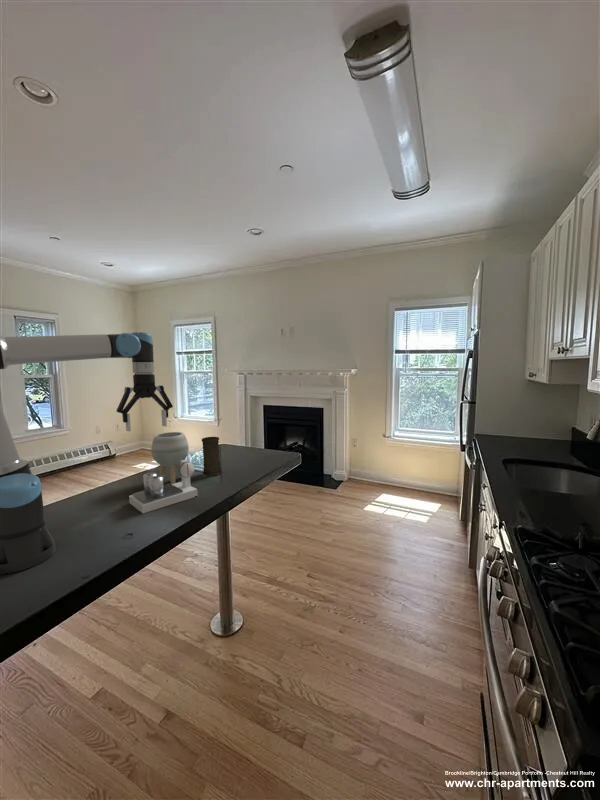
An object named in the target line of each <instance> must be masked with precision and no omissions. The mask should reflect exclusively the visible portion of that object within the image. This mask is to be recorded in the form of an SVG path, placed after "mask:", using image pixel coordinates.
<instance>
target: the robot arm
mask: <svg viewBox="0 0 600 800" xmlns="http://www.w3.org/2000/svg"><path fill="white" fill-rule="evenodd" d="M153 342H154V340H153V336H152V334H151V333H150V332H143V331H141V332H139V331H138V332H137V331H136V332H135V331H134V332H122V333H111V334H74V335H73V334H72V335H69V334H68V335H66V334H65V335H32V336H29V335H27V336H25V335H24V336H3V335H1V334H0V370H5V369H7V368H9V366H14V365H15V366H16V365H27V364H41V363H55V362H68V361H69V362H70V361H82V360H84V361H85V360H95V359H96V360H97V359H131V363H132V373H133V375H132V378H133V381H132V382H133V387H130V386H125V387H124V390H123V391H124V394H123V395H122V398H121V399H120V402H119V404H118V406H117V408H116V413H120V414H122V422H123V423H125V430H126V431H127V432H131V431H132V430H131V413H129V411H130V410H131V409H132V407H134V405H135V404H136V403H137V401H138V400H139V399H150V398H152V399H153V400H154V402H156V403H157V404H158V406H160V408H162V409H161V410H160V411H161V426H162V427H167V419H168V418H169V410H170V409H172V408H173V404H172V402H171V400H170V398H169V397H168V395H167V393H166V392H165V387H164V386H163V385H159V384H158V385H157V386H156V380H155V379H156V376H155V374H154V373H155V362H154V343H153ZM156 391H157V392H159V394H160V396H161V398H162V399H163V400H162V399H161V398H160V397H159V396H158V395H157V394H156V393H155V392H156ZM132 392H133V393H134V395H133V396H132V397H131V399H130V400H129V402H128V403H127V401H128V399H129V397H130V394H131V393H132ZM42 489H43V485H42V483H41V479H40V477H39V476H37V475H36V474H34V473H32V470H31V468H30V465H29V462H28V461H27V460H25V459H22V458H21V457H20V455H19V453H18V450H17V447H16V444H15V442H14V438H13V436H12V433H11V430H10V428H9V424H8V422H7V419H6V416H5V413H4V411H3V408H2V404H0V575H7V574H6V573H8V574H13V572H14V573H17V571H18V572H21V571H24V570H27V568H28V569H30V568H33V567H34V566H35V567H36V566H37V565H39V564H41V563H43V562H45V561H47V560H48V559H49V558H51V557H52V556H53V555H54V554H55V552H56V542H55V540H54V537H52V535H51V533H50V531H49V530H48V528H47V526H46V521H45V519H46V518H45V517H46V516H45V511H44V501H43V500H44V499H43V492H42Z"/></svg>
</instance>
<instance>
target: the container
mask: <svg viewBox="0 0 600 800" xmlns="http://www.w3.org/2000/svg"><path fill="white" fill-rule="evenodd" d="M219 440H220V438H219V437H218V436H207V437H202V438H201V442H202V453H203V454H202V456H203V469H202V471H203V472H202V474H204V475H203V476H205V475H206V476H205V477H213V476H212V475H217V474H219V475H221V474H222V466H221V461H220V445H219ZM220 473H221V474H220ZM217 476H218V475H217Z"/></svg>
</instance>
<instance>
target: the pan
mask: <svg viewBox="0 0 600 800" xmlns="http://www.w3.org/2000/svg"><path fill="white" fill-rule="evenodd" d="M163 486H164V495H163V496H161V497H156V498H152V497H150V494H146V493H144V490H140V491H136V492H134V493H132V495H133V496H135V497H136V498H137V499H139V500H140V501H142V502H143V503H144V504H145V503H148V502H152V501H155V500H158V499H162V498H165V497H168V496H172V495H175V494H179V493H182V492H183V490H181V489H179V488H177V487H176V486H174V485H172V484H171V482H169V483H167V484H166V483H165V484H163Z"/></svg>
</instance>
